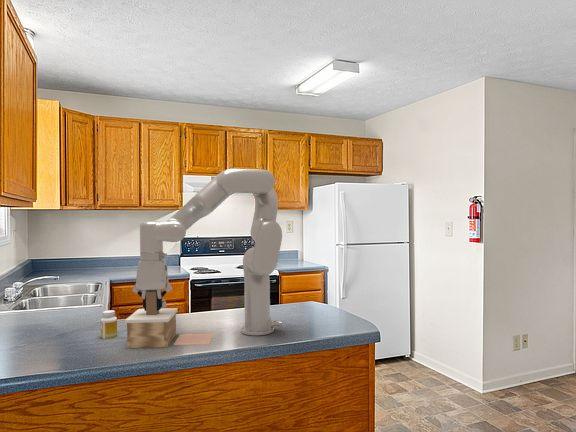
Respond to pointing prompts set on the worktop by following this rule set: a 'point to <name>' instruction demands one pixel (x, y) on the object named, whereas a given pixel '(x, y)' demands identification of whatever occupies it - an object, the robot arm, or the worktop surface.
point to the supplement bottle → (108, 325)
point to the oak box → (151, 334)
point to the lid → (151, 311)
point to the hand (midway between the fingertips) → (152, 309)
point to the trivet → (193, 339)
